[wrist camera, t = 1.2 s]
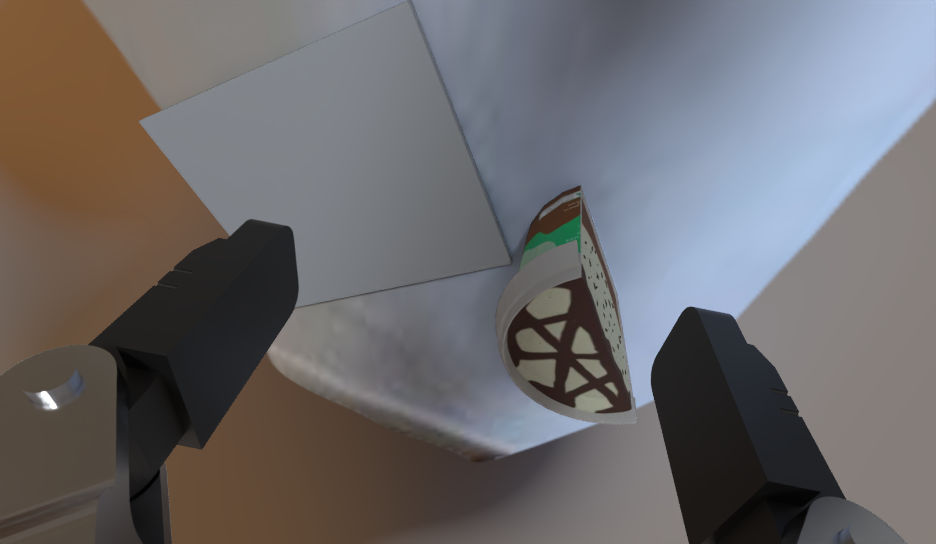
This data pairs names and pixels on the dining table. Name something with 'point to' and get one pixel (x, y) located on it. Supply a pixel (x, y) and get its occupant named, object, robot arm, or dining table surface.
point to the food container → (566, 319)
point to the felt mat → (343, 160)
